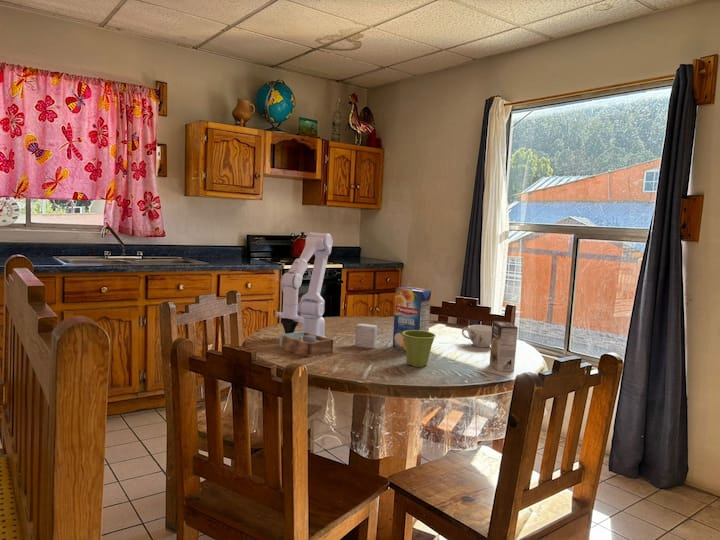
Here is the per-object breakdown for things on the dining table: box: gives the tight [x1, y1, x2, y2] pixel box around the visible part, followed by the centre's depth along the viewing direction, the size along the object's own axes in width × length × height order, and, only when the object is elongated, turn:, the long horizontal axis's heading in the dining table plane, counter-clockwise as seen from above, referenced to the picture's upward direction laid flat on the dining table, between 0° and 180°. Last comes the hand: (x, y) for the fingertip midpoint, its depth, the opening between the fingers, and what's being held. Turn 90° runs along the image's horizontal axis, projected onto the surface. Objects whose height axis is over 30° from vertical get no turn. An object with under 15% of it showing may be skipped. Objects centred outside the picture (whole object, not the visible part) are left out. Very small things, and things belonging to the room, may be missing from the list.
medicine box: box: [354, 323, 378, 349], centre depth 219 cm, size 8×4×9 cm, turn 71°
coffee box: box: [489, 320, 519, 372], centre depth 197 cm, size 9×6×16 cm
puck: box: [303, 335, 316, 343], centre depth 207 cm, size 5×5×4 cm
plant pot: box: [403, 330, 437, 368], centre depth 196 cm, size 12×12×11 cm
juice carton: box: [392, 286, 432, 351], centre depth 218 cm, size 12×8×24 cm, turn 53°
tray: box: [279, 330, 318, 347], centre depth 209 cm, size 15×12×4 cm
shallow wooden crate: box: [281, 332, 334, 358], centre depth 208 cm, size 16×12×5 cm
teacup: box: [461, 324, 492, 348], centre depth 230 cm, size 15×12×8 cm
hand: (289, 338), depth 215 cm, fingers closed
